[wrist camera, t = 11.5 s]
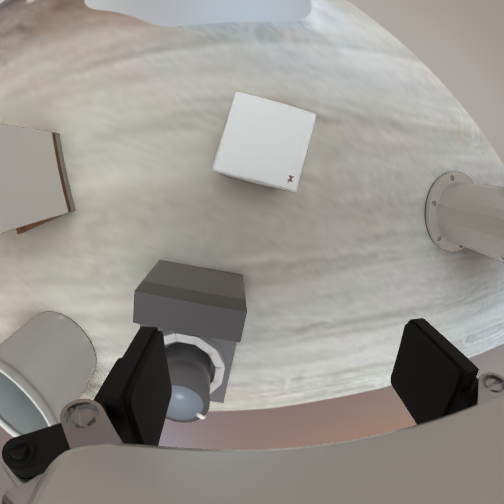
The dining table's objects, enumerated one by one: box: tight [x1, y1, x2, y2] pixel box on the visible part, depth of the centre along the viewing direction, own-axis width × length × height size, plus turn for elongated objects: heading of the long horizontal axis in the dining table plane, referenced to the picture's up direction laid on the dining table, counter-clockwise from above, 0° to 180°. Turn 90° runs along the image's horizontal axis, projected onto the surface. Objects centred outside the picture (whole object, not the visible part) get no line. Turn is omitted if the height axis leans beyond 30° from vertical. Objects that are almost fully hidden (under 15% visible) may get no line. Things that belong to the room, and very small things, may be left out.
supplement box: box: [212, 91, 316, 193], centre depth 29 cm, size 7×7×13 cm
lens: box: [165, 342, 211, 423], centre depth 29 cm, size 6×6×7 cm
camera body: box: [133, 260, 247, 403], centre depth 35 cm, size 11×15×11 cm
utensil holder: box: [0, 312, 96, 437], centre depth 32 cm, size 15×15×18 cm
